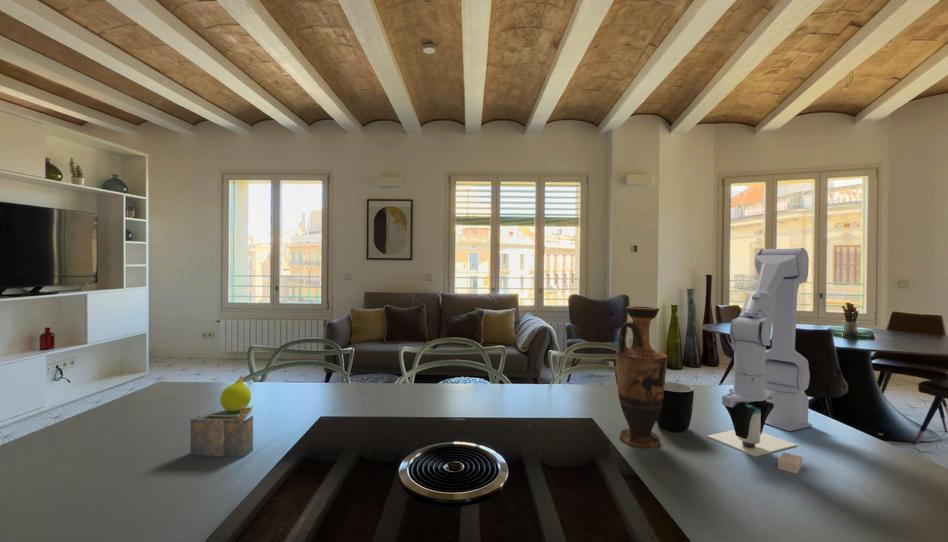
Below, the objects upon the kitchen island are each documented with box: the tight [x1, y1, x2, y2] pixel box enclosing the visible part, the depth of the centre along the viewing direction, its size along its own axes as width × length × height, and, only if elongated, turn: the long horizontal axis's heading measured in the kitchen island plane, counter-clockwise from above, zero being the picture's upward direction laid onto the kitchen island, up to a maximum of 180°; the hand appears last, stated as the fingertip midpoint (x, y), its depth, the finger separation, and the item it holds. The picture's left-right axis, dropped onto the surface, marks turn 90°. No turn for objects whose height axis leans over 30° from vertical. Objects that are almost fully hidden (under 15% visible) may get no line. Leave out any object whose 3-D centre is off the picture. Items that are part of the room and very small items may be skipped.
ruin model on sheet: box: [190, 405, 254, 457], centre depth 87 cm, size 11×3×10 cm, turn 89°
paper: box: [706, 429, 798, 457], centre depth 96 cm, size 14×11×1 cm
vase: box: [615, 305, 669, 448], centre depth 96 cm, size 11×11×30 cm
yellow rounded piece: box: [219, 371, 252, 413], centre depth 112 cm, size 7×7×10 cm
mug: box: [655, 381, 695, 434], centre depth 105 cm, size 12×9×10 cm
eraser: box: [777, 451, 803, 475], centre depth 84 cm, size 5×3×2 cm, turn 134°
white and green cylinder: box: [738, 405, 761, 448], centre depth 92 cm, size 4×4×8 cm
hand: (748, 435), depth 92 cm, fingers closed on white and green cylinder, 4 cm apart
